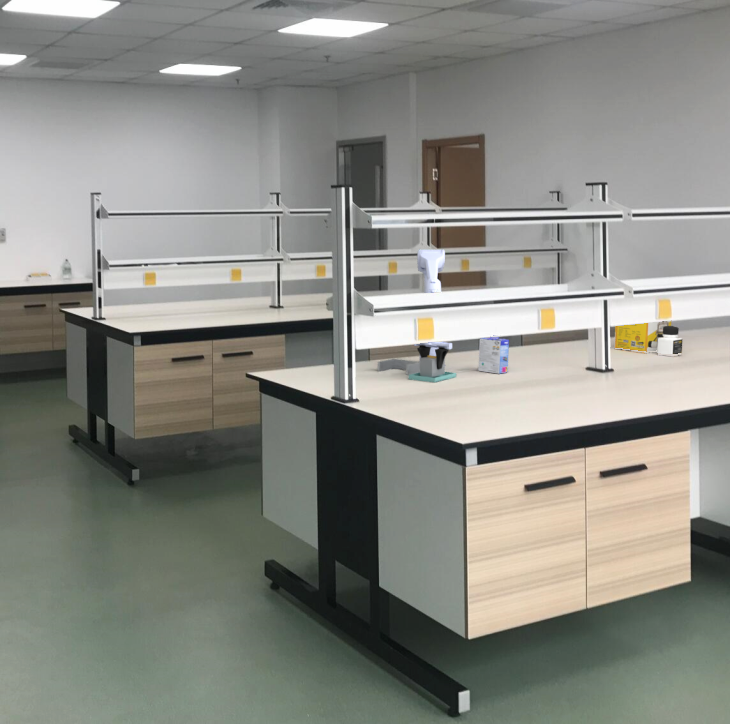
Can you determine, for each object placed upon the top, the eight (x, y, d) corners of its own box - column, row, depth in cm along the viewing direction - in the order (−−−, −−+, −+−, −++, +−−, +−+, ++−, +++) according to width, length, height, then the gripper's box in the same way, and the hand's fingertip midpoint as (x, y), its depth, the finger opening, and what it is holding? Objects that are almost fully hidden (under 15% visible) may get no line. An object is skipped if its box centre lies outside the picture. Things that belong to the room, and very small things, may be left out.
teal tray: (430, 374, 347) (430, 369, 347) (456, 377, 341) (456, 372, 340) (408, 379, 336) (408, 374, 336) (434, 382, 330) (434, 378, 329)
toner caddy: (432, 372, 343) (432, 353, 342) (444, 373, 340) (444, 355, 339) (419, 375, 336) (420, 356, 335) (432, 376, 333) (432, 357, 332)
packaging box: (637, 346, 421) (640, 288, 417) (669, 350, 408) (673, 291, 405) (614, 349, 411) (616, 290, 407) (646, 353, 398) (649, 293, 395)
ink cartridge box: (509, 372, 351) (510, 332, 348) (499, 374, 347) (500, 334, 344) (487, 369, 357) (488, 330, 355) (477, 371, 354) (478, 331, 351)
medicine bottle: (672, 357, 389) (674, 327, 387) (656, 355, 394) (658, 326, 392) (681, 355, 393) (683, 326, 392) (666, 353, 399) (667, 324, 397)
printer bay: (393, 367, 360) (393, 358, 360) (423, 371, 352) (423, 362, 352) (377, 371, 353) (377, 361, 352) (408, 375, 344) (408, 365, 344)
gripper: (409, 328, 337) (408, 367, 339) (444, 332, 328) (444, 371, 330) (420, 326, 342) (420, 364, 345) (455, 330, 334) (455, 368, 336)
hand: (432, 368), depth 338 cm, fingers closed on toner caddy, 5 cm apart
